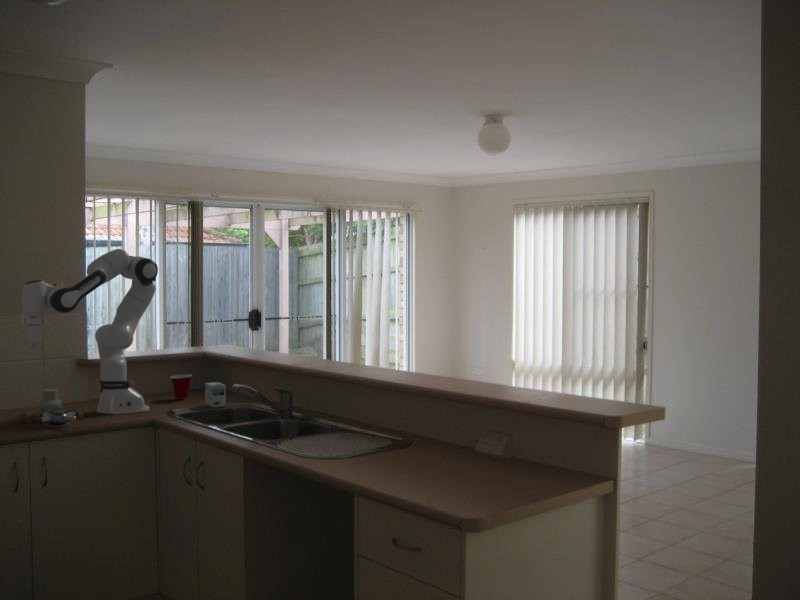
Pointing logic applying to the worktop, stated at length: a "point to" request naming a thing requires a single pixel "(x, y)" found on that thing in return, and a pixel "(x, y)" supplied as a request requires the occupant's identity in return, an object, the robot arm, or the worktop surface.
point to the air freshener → (50, 401)
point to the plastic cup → (181, 385)
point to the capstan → (57, 417)
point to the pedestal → (58, 425)
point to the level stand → (34, 415)
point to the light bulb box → (215, 394)
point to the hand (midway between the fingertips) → (34, 352)
